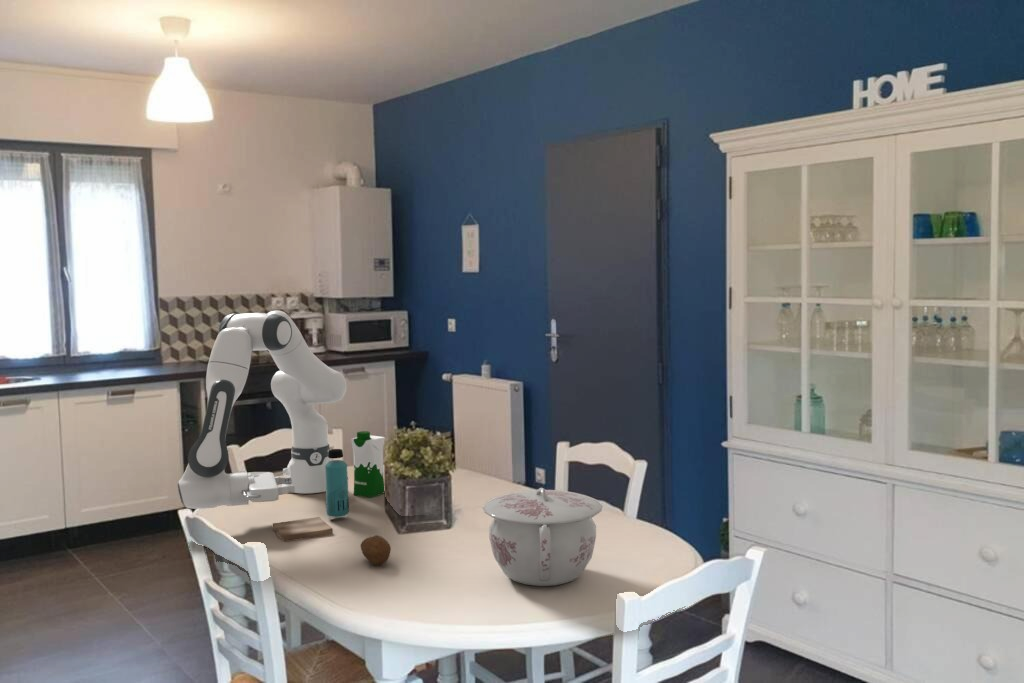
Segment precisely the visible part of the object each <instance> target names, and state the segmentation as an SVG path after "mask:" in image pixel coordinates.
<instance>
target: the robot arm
mask: <svg viewBox="0 0 1024 683" xmlns="http://www.w3.org/2000/svg"><path fill="white" fill-rule="evenodd" d="M218 326H219V327H218V333H217V336H216V339H215V340H214V343H213V345H212V349H211V352H210V356H209V358H208V363H207V368H206V376H205V390H206V395H207V396H206V397H207V405H206V406H207V407H206V411H205V415H204V419H203V424H202V428H201V431H200V435H199V437H198V438H197V439H196V441H195V442H194V443H193V445H192V446H191V447H190V449H189V452H188V455H187V461H188V463H187V466H186V468H185V471H184V472H183V474H182V476H181V478H180V479H179V480H178V482H177V488H178V489H177V490H178V495H179V499H180V501H181V503H182V505H183V506H184V507H186V508H187V509H192V510H193V509H194V510H198V509H199V510H201V509H202V510H203V509H213V508H218V507H223V506H225V507H235V506H237V507H238V506H247V505H249V502H251V503H265V502H276V501H278V500H280V499H279V497H280V496H281V495H286V494H289V493H295V494H317V493H326V492H325V491H326V474H325V465H326V464H327V463H328V462H329V461H333V458H328V455H329V450H331V447H330V444H329V436H328V433H329V432H328V431H329V430H328V428H329V427H328V421H327V420H326V417H324V416H323V415H322V414H320V413H319V412H318V411H317V410H316V408H315V407H314V404H320V405H321V404H325V405H326V404H331V403H337V402H340V401H342V399H343V398H344V397H345V395H346V393H347V387H348V385H347V384H348V383H347V380H346V377H345V376H344V375H343V374H342V373H341V372H340V371H338V370H335V369H333V368H332V367H330V366H328V365H327V364H325V363H324V362H323V361H322V360H321V359H320V358H318V356H316V355H315V354H314V353H313V352H312V350H311V349H310V347H309V346H308V344H307V342H306V341H305V339H304V336H303V335H302V333H301V331H300V330H299V328H298V326H297V325H296V323H295V322H294V320H293V319H292V318H291V317H290V316H289V314H287V313H286V312H285V311H282V310H277V309H275V310H271V311H268V312H267V313H265V312H244V313H239V312H234V313H231V314H228V315H226V316H224V318H222V320H221V321H220V324H219V325H218ZM256 351H259V352H261V351H268V353H269V355H270V356H271V358H272V359H273V362H274V363H275V365H276V367H277V368H278V369H279V370H278V371H276V372H275V373H274V375H273V376H272V378H271V380H270V381H271V382H270V388H271V393H272V394H273V396H274V398H276V399H277V400H278V401H279V402H280V403H281V404H282V405H283V407H284V409H285V410H286V413H287V414H288V416H289V421H290V424H291V433H292V446H291V450H290V453H291V454H290V456H291V459H290V460H289V462H288V464H287V467H284V468H282V475H283V476H275V474H274V473H273V472H271V471H251V472H247V471H246V470H240V471H238V472H235V473H233V472H232V473H231V472H230V473H226V472H225V471H226V470H225V469H226V468H227V465H228V464H229V457H230V456H229V451H228V447H227V440H226V439H227V432H228V427H229V422H230V417H231V413H232V411H233V410H232V409H233V406H234V404H235V402H237V401H236V400H238V398H239V397H240V395H241V394H242V392H243V390H244V387H245V385H246V383H247V379H248V376H249V371H250V366H251V360H252V352H256Z"/></svg>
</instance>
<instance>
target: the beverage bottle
mask: <svg viewBox="0 0 1024 683" xmlns="http://www.w3.org/2000/svg"><path fill="white" fill-rule="evenodd" d="M343 457H344V452H343V449H341V448H332V449H330V450H329V455H328V458H331V459H332V460H333V459H335V460H333V461H329V462H328V463H327V464H326V465H325V474H326V491H325V492H324V493H325V511H326V515H327V516H328V517H334V518H337V517H345V516H347V515H348V514H349V511H350V504H349V475H348V464H347V463H346V462H345V460H341V459H342V458H343Z"/></svg>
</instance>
